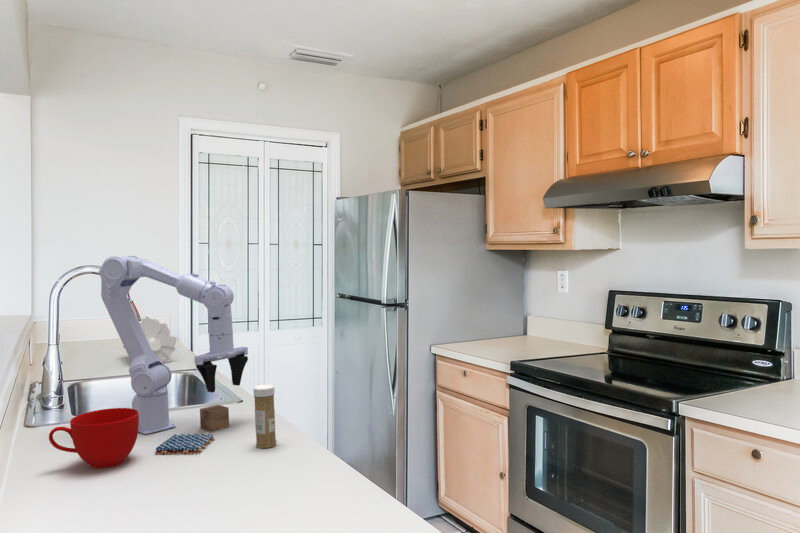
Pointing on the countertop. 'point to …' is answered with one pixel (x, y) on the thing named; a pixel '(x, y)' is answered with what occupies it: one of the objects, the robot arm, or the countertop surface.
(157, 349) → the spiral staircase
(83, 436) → the ceramic cup
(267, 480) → the countertop surface
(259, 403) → the sprinkles bottle
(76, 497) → the countertop surface
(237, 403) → the countertop surface
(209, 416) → the walnut block
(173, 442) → the woven mat
